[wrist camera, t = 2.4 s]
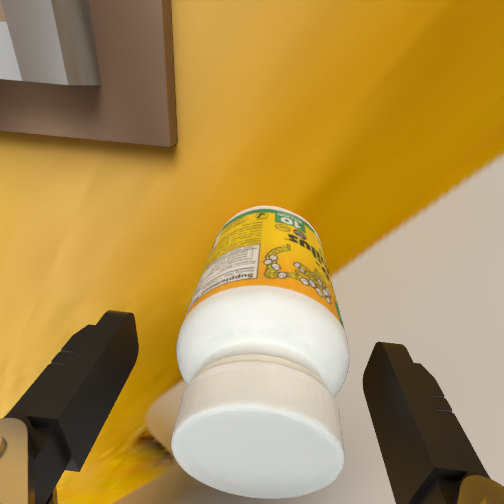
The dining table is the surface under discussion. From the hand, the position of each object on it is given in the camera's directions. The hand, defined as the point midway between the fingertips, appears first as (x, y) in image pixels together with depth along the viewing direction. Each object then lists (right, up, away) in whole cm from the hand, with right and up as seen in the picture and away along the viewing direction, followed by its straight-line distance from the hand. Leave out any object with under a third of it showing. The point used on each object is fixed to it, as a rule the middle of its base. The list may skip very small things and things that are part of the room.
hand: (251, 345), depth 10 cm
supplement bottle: (+1, +3, +6) cm, 6 cm away
